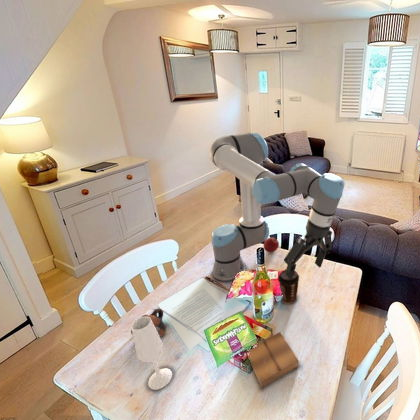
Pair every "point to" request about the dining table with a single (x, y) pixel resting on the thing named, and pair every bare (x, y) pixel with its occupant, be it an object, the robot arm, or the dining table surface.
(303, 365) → the dining table surface
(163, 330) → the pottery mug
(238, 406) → the dining table surface
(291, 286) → the coffee cup
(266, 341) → the cardboard box
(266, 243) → the apple
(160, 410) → the dining table surface
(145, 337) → the champagne flute
